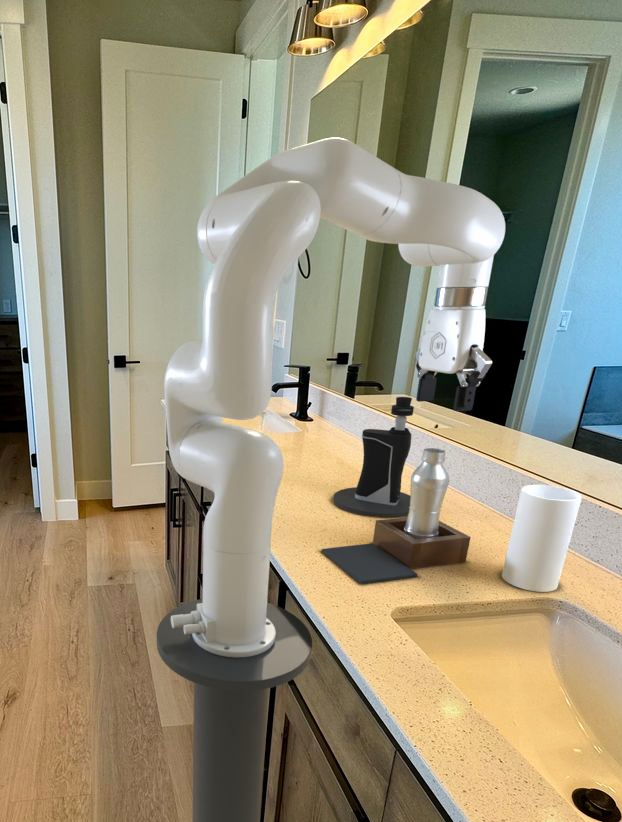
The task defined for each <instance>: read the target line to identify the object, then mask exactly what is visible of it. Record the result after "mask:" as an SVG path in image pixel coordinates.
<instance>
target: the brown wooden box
mask: <svg viewBox="0 0 622 822" xmlns="http://www.w3.org/2000/svg"><path fill="white" fill-rule="evenodd" d="M407 517H408V516H404V517H395V518H385V519H376V520H375V524H374V532H373V538H372V543H373V544H375V545H376V546H378V547H379V548H380V549H382V550H383V551H385V552H386V553H388V554H389V555H391V556H392V557H394V558H395V559H396V560H398V561H399V562H401V563H402V564H404V565H405V566H407V567H408V568H410V569H411V570H413V569H418V568H427V567H435V566H442V565H443V566H445V565H452V564H460V563H466V562H467V561H466V560H467V557H468V554H469V553H468V551H469V546H470V542H471V538H472V537H471V536H469V535H467V534H466V533H464V532H462V531H460V530H458V529H456V528H455V527H452V526H451V525H449V524H447V523H445V522H443V521H441V520H439V526H438V535H439V537H433V538H424V539H414V538H412V537H411V536H409V535H407V534H406V533H404V532H403V530H404V527H405V525H406V521H407Z"/></svg>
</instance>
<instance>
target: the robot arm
mask: <svg viewBox="0 0 622 822" xmlns="http://www.w3.org/2000/svg"><path fill="white" fill-rule="evenodd" d="M320 220H323V221H326V222H328V223H331V224H332V225H335V226H337V227H340V228H342V229H345V230H346V231H348V232H350V233H353V234H355V235H357V236H358V237H361V238H363V239H365V240H367V241H370V242H375V243H381V244H390V245H391V244H393V245H398V251H399V254H400V257H402V259H403V260H404V261H405V262H406V263H407V264H409V265H412V266H414V267H439V269H438V276H437V282H436V290H435V296H434V302H433V308H431V309H430V311H429V314H428V317H427V320H426V323H425V327H424V331H423V335H422V340H421V344H420V348H419V349H418V350H416V351H415V352H414V357H415V362H416V363H415V368H416V370H417V376H416V377H417V378H418V384H417V391H416V398H415V399H416V400H415V401H416V402H421V403H422V402H432V401H433V400H435V392H436V388H437V387H436V386H437V382H438V381H437V379H438V378H437V377H435V376H436V375H437V374H438V373H442V374H449V375H451V374H456V376H457V379H458V382H459V384H460V385H457V386H456V390H455V397H454V402H453V407H452V408H453V411H455V412H467V411H468V412H469V411H472V410H473V407H474V401H475V396H476V392H477V391H476V389H477V387H479V386H480V385H481V382H482V381H483V380H484V379H485V378H486V376H487V373H488V371H489V369H490V368H491V366H492V365H493V360H492V359H491V358H490V357H489V356H488V355H487V354H486V353H485V352H484V350H483V349H484V343H485V333H486V316H487V315H486V309H485V308H486V302H487V296H488V291H489V286H490V285H489V284H490V280H491V274H492V269H493V263H494V256H495V254H497V252H498V251H499V249H500V248H501V246H502V244H503V241H504V239H505V234H506V221H505V217H504V215H503V212H502V210H501V209H500V207H499V205H497V204H496V203H495V202H494V201H493V200H491V199H490V198H489V197H487V196H486V195H484V194H483V193H482V192H479V191H478V190H476V189H473V188H471V187H467V186H464V185H460V184H456V183H452V182H446V181H442V180H441V181H440V180H436V179H431V178H427V177H422V176H417V175H416V176H415V175H409V174H406V173H403V172H402V171H400V170H399V169H397V168H395V167H393V165H390V164H389V163H387V162H386V161H383V160H382V159H381V158H379V157H377V156H375V155H374V154H372V153H371V152H369V151H368V150H365V148H363V147H361V146H360V145H358V144H356V143H354V142H352V141H351V140H348V139H346V138H342V137H328V138H323V139H320V140H316V141H313V142H309V143H306V144H303V145H299V146H295V147H293V148H292V147H291V148H289V149H285V150H282V151H279V152H278V153H276V154H275V155H273V156H271V157H270V158H268V159H267V160H265V161H263V162H262V163H261V164H259V165H258V166H256V167H255V168H254V169H252V170H251V171H250V172H248V173H246V174H245V175H244V176H242V177H241V178H240V179H239V180H237V181H236V182H234V183H232V184H231V185H229V186H228V187H226V188H225V189H223V190H222V191H221V192H219V193H218V194H217V195H215V196H214V197H213V198H212V199H210V201H209V202H208V203H207V204H206V205H205V207H204V208H203V210H202V211H201V213H200V216H199V218H198V222H197V226H196V237H197V243H198V247H199V250H200V251H201V253H202V255H203V256H204V258H205V259H206V260H208V261H209V262H210V263H211V264H213V266H212V268H211V270H210V273H209V274H208V275H209V276H208V278H207V281H206V283H205V287H204V292H203V296H202V297H203V298H202V326H201V329H202V333H201V335H202V336H201V338H202V339H197V340H191V341H188V342H186V343H184V344H182V345H180V347H178V348H177V349H176V350H175V352H173V354H172V355H171V357H170V358H169V361H168V364H167V367H166V370H165V374H164V381H163V382H164V383H163V390H164V391H163V392H164V407H165V418H166V420H165V421H166V422H165V423H166V432H167V444H168V452H169V457H170V460H171V464H172V467H173V468H174V470H175V472H176V473H177V474H178V475H179V476H180V477H181V478H183V479H185V480H187V481H188V482H190V483H192V484H195V485H198V486H200V487H203V488H204V489H206V490H209V491H211V492H212V493H213V494H214V498H213V501H212V503H211V505H210V507H209V509H208V511H207V513H206V516H205V518H204V522H203V531H202V535H203V536H202V540H203V547H202V548H203V551H202V554H203V555H202V556H203V557H202V599H203V603H198V604H197V610H196V611H191V614H184V615H183V614H180V615H173V616H171V625H172V628H181V627H183V631H184V634H192V636H193V639H194V640H195V642H196V643H197V644H198V645H199V646H200V647H202V648H203V649H205V650H206V651H209V652H211V653H213V654H217V655H220V656H225V657H234V658H239V657H250V656H254V655H258V654H260V653H262V652H265V651H266V650H268V649H269V648H270V647H271V646H272V645H273V644H274V641H275V636H276V631H275V627H274V625H273V624H272V623H271V621H270V620H269V619H267V618H266V612H267V603H268V595H269V594H268V593H269V580H270V578H269V577H270V563H271V547H272V529H273V527H272V526H273V518H274V510H275V506H276V500H277V497H278V493H279V490H280V489H279V488H280V486H281V481H282V479H283V473H284V466H285V463H284V457H283V453H282V451H281V449H280V446H279V445H278V444H277V443H276V441H275V440H273V438H271V437H270V436H268V435H266V434H264V433H263V432H260V431H259V430H258V431H257V430H255V429H253V428H248V427H244V426H242V425H241V426H240V425H236V424H232V423H227V422H226V423H225V422H223V418H224V419H229V420H235V421H248V420H253V419H255V418H258V417H259V416H261V415H262V414H263V413H264V412H265V411H266V409H267V408H268V406H269V404H270V401H271V395H272V389H273V317H274V305H275V298H276V295H277V293H278V289H279V287H280V285H281V283H282V281H283V279H284V278H285V276H286V275H287V273H288V271H289V270H290V269H291V267H292V265H293V264H295V262H296V261H297V260H298V259H299V258H300V256H301V255H302V254H303V253H304V252H305V251H306V250H307V249H308V247H309V246H310V245H311V243H312V241H313V240H314V239H315V236H316V233H317V231H318V228H319V224H320ZM467 375H468V376H467Z"/></svg>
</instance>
